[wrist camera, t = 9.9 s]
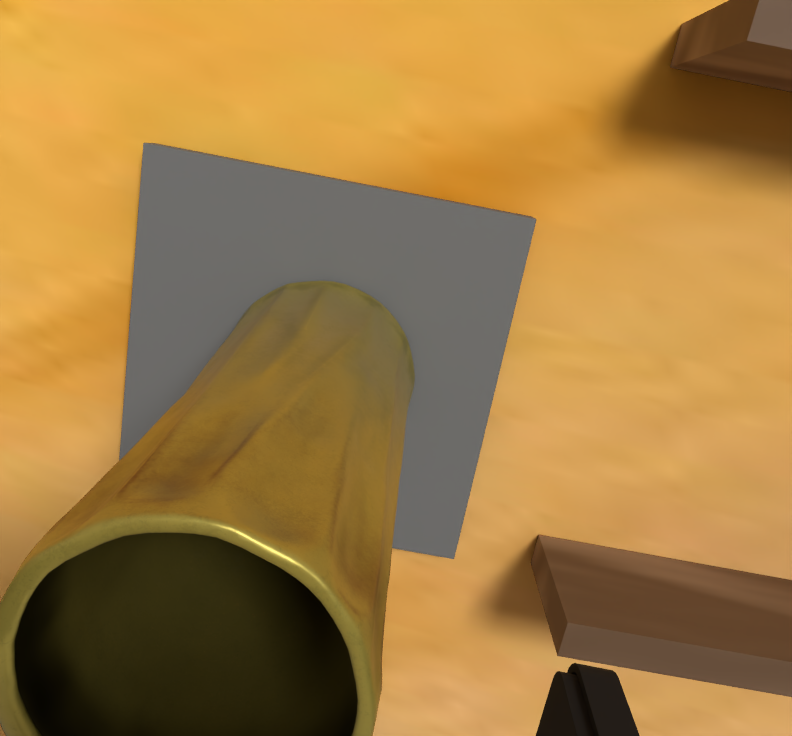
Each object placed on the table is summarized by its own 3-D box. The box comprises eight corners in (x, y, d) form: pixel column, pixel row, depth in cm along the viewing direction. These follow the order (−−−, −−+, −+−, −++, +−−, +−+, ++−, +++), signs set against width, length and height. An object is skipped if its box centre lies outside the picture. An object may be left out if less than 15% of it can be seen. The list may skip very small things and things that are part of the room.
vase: (361, 245, 21) (269, 398, 8) (445, 412, 23) (492, 786, 9) (193, 329, 22) (-154, 599, 9) (285, 485, 24) (113, 922, 10)
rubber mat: (452, 544, 26) (453, 558, 25) (127, 485, 25) (116, 498, 24) (531, 216, 22) (536, 219, 21) (155, 143, 22) (143, 142, 21)
